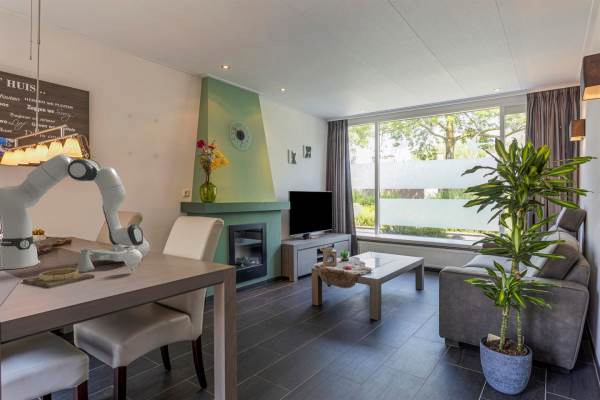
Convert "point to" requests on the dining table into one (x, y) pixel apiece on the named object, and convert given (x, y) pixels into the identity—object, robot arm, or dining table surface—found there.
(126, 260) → the spinning top
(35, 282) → the walnut board
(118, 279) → the dining table surface
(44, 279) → the wooden ring
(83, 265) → the flask
